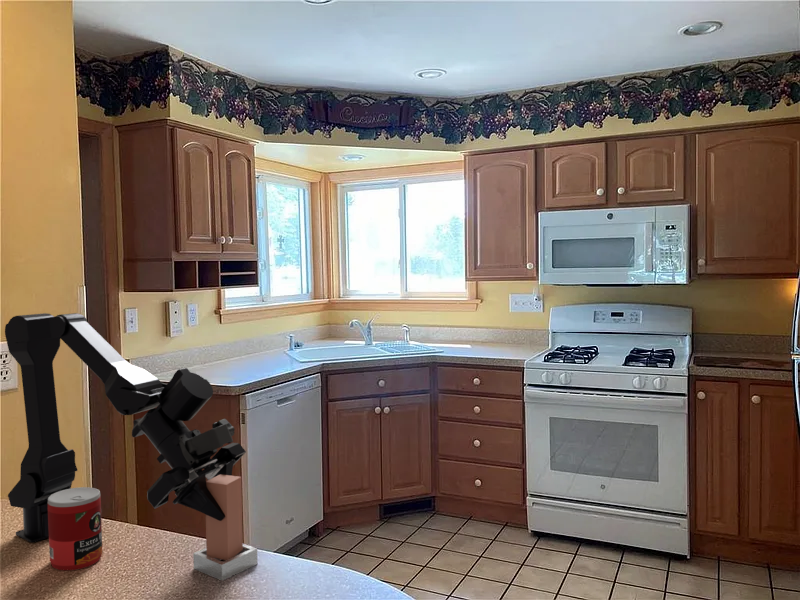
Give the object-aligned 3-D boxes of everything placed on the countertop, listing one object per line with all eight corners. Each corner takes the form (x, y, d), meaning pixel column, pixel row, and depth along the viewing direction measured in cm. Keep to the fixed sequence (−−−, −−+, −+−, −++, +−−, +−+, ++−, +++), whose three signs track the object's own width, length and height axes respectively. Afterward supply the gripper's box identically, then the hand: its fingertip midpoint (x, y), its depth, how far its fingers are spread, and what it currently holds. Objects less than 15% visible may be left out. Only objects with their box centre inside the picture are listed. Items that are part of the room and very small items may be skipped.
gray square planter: (193, 568, 104) (193, 553, 104) (229, 552, 110) (228, 538, 109) (222, 580, 100) (221, 564, 100) (257, 563, 105) (257, 548, 105)
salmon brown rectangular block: (206, 556, 103) (204, 481, 103) (221, 546, 107) (220, 474, 107) (228, 560, 102) (226, 484, 101) (242, 550, 106) (241, 476, 105)
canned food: (82, 573, 103) (80, 504, 102) (38, 569, 104) (35, 501, 104) (113, 552, 110) (111, 488, 110) (71, 548, 112) (69, 485, 111)
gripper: (160, 420, 96) (225, 503, 93) (235, 396, 114) (292, 465, 110) (119, 467, 99) (181, 549, 96) (198, 436, 117) (252, 505, 113)
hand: (231, 513), depth 104 cm, fingers closed on salmon brown rectangular block, 4 cm apart
